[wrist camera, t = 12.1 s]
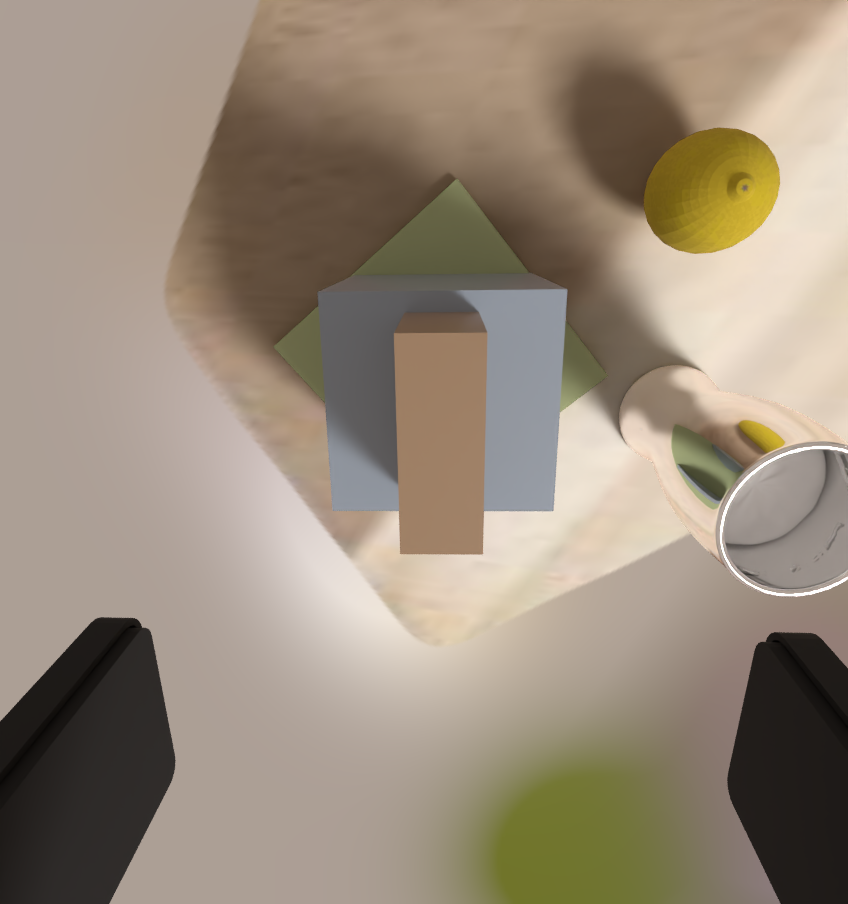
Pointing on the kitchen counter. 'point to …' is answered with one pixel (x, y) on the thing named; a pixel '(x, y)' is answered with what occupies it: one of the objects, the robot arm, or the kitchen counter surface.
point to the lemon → (711, 190)
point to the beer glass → (745, 479)
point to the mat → (442, 252)
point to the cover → (442, 399)
